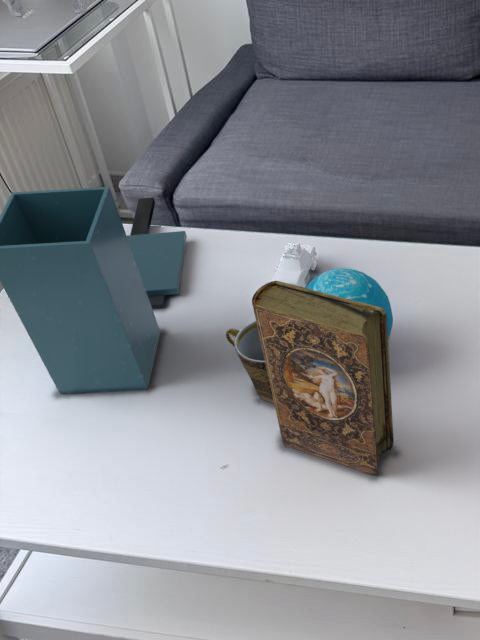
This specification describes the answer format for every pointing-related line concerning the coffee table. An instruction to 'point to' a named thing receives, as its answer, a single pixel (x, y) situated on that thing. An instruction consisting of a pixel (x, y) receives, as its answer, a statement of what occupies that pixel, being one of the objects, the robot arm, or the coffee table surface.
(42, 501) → the coffee table surface
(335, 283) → the decorative orb
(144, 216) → the lid
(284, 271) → the toy car
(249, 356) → the ceramic cup
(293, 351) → the book
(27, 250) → the bin
